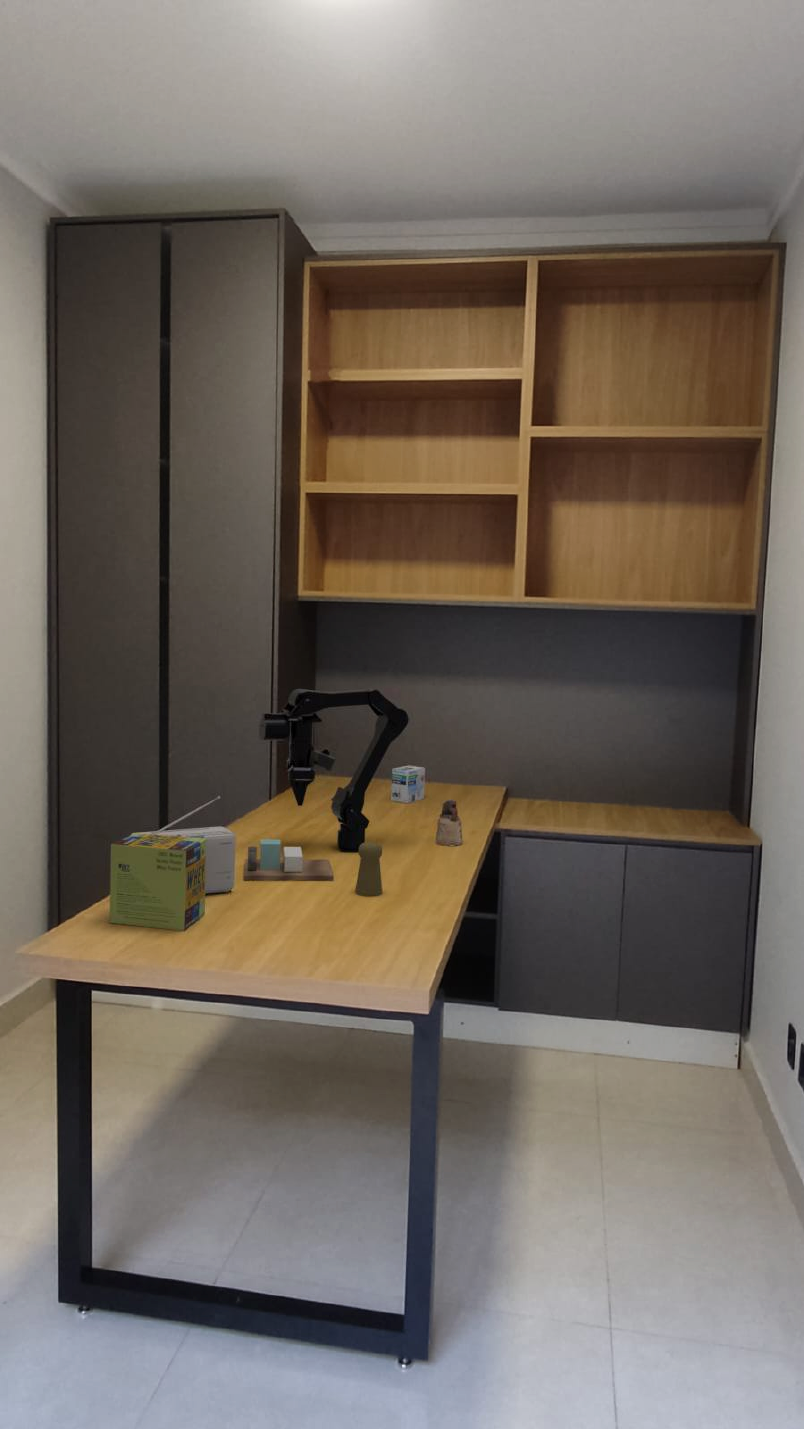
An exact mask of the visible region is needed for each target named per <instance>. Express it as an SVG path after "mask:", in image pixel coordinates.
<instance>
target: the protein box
mask: <svg viewBox="0 0 804 1429" xmlns="http://www.w3.org/2000/svg"><path fill="white" fill-rule="evenodd" d="M134 833H135V834H133V835H131V834H130V835H128V836H126V837H123V838H122V839H120V840H117V841H115V842H113V843H111V844H110V875H109V876H110V881H109V882H110V883H109V884H110V886H109V887H110V889H109V893H110V894H109V923H110V924H117V925H125V926H126V925H129V926H136V927H145V928H155V929H164V930H174V931H180V932H181V931H185V930H186V929H188V928H190V927H191V926H192V925H193V924H194V923H196V922H197V921H198V920H200V919H201V918H202V917H204V916H205V915H206V894H205V875H206V838H194V837H182V836H171V835H157V834H145V833H140V832H134Z"/></svg>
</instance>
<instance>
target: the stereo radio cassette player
mask: <svg viewBox="0 0 804 1429" xmlns="http://www.w3.org/2000/svg"><path fill="white" fill-rule="evenodd" d="M219 799H221V796H217V797H216V798H214V799H213V800H211V801H209V802H207V803H205V804H203V805H202V806H199V807H198V808H196V809H194V810H193V811H191V812H188V813H187V814H185V815H183V816H181V817H180V818H178V819H176V820H174V821H173V822H171V823H169V824H167V825H165V826H164V827H162V828H160V829H159V830H157V831H145V832H144V831H143V832H142V831H141V832H139V833H145V834H157V835H171V836H182V837H194V838H206V875H205V895H207V894H214V893H215V894H216V893H227V892H230V890H232V889H233V888H234V887H235V875H236V874H235V873H236V872H235V871H236V870H235V869H236V868H235V867H236V842H237V841H236V838H237V837H236V834H235V833H234V832H233V831H231V830H230V829H229V828H228V829H227V827H224V826H209V827H195V828H184V829H183V828H180V829H171V830H169V828H170V827H172V826H174V825H175V824H177V823H179V822H181V821H183V820H184V819H186V818H188V817H189V816H191V815H193V814H195V813H196V812H199V811H200V810H201V809H203V808H205V807H207V806H208V805H210V804H212V803H213V802H215V801H216V800H219ZM166 829H168V830H166ZM135 833H136V832H133V833H131V834H130V835H133V834H135Z"/></svg>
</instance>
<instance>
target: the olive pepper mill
mask: <svg viewBox="0 0 804 1429" xmlns="http://www.w3.org/2000/svg"><path fill="white" fill-rule="evenodd" d="M382 854H383V847H382V845H381V844H379V843H377V842H374V841H366V842H365V843H362V844H361V845H360V846H359V851H358V856H359V857H360V860H359V867H358V873H357V878H356V883H355V890H354V893H355V895H357V896H361V897H370V898H371V897H379V896H382V895H383V886H382V884H383V883H382V873H381V862H380V861H381V860H380V858H381V857H382Z"/></svg>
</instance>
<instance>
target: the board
mask: <svg viewBox="0 0 804 1429" xmlns="http://www.w3.org/2000/svg"><path fill="white" fill-rule="evenodd" d="M247 848H248V849H247V858H245V859H244V870H243V872H244V873H243V881H244V882H259V881H260V882H262V881H263V882H267V881H268V882H270V881H271V882H272V881H273V882H274V881H275V882H276V881H277V880H282V882H285V880H310V881H309V882H312V881H313V882H314V881H317V882H319V881H320V882H321V881H322V882H325V881H326V882H333V881H334V880H335V879H334V876H335V875H334V871H333V869H332V865H331V862H330V859H311V858H310V859H309V858H308V859H303V860H302V872H284V862H283V858H280V870H260V858H259V859H258V857H257V856H258V852H257V850H258V847H257V846H248V847H247ZM250 880H251V881H250ZM255 880H256V881H255ZM277 882H278V881H277Z"/></svg>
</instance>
